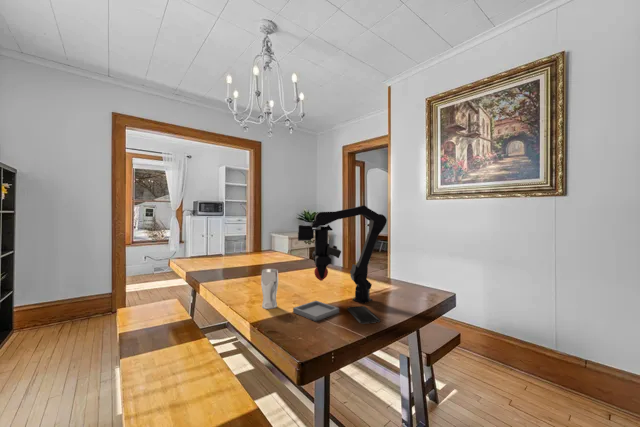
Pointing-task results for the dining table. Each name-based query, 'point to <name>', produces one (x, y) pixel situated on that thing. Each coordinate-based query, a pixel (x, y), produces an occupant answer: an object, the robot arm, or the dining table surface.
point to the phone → (363, 315)
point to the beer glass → (269, 288)
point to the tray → (316, 310)
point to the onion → (319, 275)
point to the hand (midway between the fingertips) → (321, 276)
